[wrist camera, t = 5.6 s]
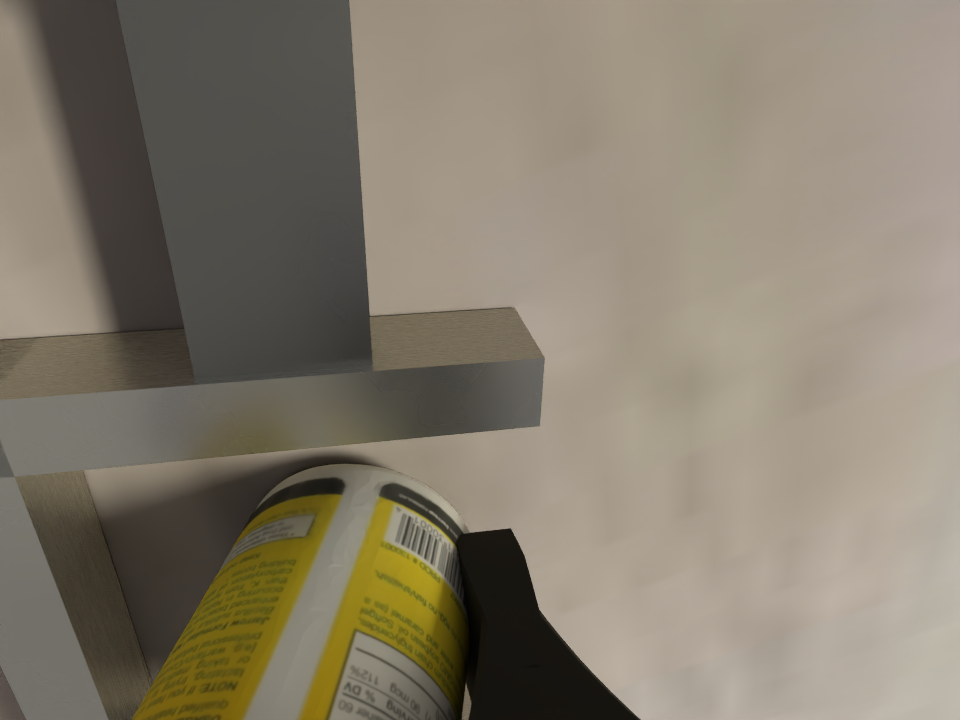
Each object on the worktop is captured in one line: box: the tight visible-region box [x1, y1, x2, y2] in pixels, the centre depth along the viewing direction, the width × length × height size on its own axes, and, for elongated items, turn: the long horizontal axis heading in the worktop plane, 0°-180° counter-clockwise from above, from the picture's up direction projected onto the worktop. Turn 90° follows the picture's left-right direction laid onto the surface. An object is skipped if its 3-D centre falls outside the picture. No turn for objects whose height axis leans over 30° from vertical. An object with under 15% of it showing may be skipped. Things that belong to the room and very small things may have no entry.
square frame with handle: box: [0, 0, 545, 720], centre depth 11 cm, size 22×9×2 cm, turn 179°
